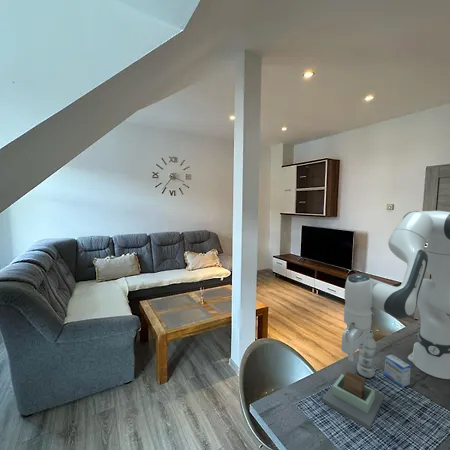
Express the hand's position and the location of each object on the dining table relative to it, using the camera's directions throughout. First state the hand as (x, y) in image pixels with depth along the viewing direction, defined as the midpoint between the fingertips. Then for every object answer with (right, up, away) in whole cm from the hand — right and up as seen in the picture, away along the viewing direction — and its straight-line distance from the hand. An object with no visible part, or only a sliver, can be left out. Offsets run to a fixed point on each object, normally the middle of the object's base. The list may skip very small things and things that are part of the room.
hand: (355, 353), depth 91 cm
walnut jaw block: (0, -17, +2) cm, 17 cm away
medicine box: (+24, -18, +12) cm, 32 cm away
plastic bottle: (+12, -17, +15) cm, 26 cm away
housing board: (0, -19, +2) cm, 19 cm away
